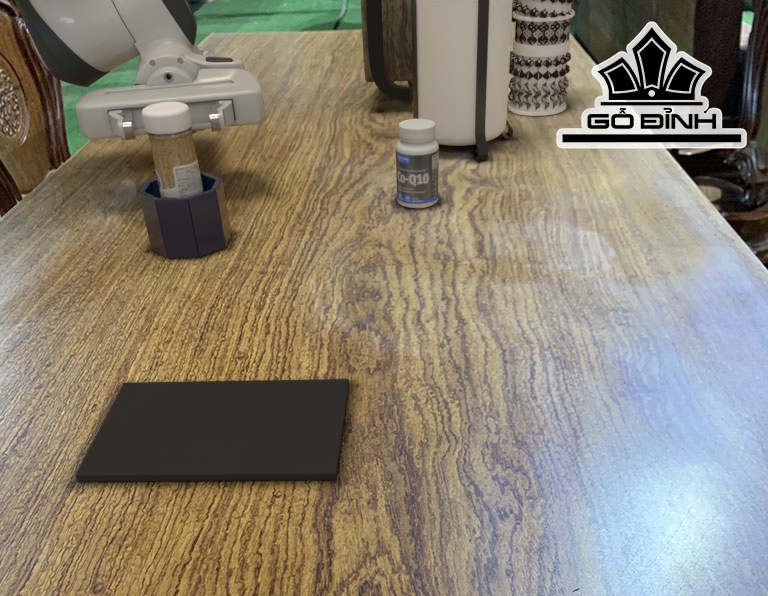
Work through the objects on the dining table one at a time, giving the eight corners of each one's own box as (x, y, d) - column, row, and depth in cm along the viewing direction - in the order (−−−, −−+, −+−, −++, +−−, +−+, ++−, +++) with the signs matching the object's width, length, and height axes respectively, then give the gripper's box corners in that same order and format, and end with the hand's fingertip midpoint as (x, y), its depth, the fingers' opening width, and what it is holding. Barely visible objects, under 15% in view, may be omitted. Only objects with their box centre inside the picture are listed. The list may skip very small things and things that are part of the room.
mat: (77, 482, 57) (74, 475, 57) (125, 388, 66) (123, 382, 66) (336, 480, 56) (335, 473, 56) (349, 385, 65) (348, 378, 65)
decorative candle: (550, 120, 116) (568, -102, 99) (493, 111, 120) (501, -103, 104) (580, 104, 121) (602, -109, 105) (524, 96, 125) (537, -110, 109)
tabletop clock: (376, 89, 132) (367, -105, 116) (432, 88, 131) (432, -108, 115) (366, 115, 121) (355, -95, 105) (428, 114, 120) (426, -99, 104)
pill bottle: (392, 207, 93) (389, 128, 88) (403, 192, 97) (401, 116, 91) (432, 210, 92) (432, 130, 86) (443, 195, 95) (443, 117, 90)
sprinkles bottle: (163, 241, 89) (133, 106, 80) (202, 230, 90) (176, 97, 82) (181, 254, 86) (151, 116, 77) (220, 243, 88) (196, 106, 79)
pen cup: (145, 259, 85) (131, 200, 81) (164, 228, 91) (152, 173, 87) (221, 257, 85) (211, 198, 81) (235, 226, 91) (226, 170, 87)
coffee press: (490, 120, 117) (500, -152, 97) (534, 154, 105) (556, -148, 85) (371, 136, 114) (356, -142, 94) (403, 172, 102) (394, -136, 82)
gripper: (74, 72, 94) (61, 104, 83) (255, 56, 96) (264, 85, 85) (90, 131, 98) (78, 168, 87) (262, 115, 100) (272, 149, 90)
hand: (172, 127), depth 86 cm, fingers open, 8 cm apart
